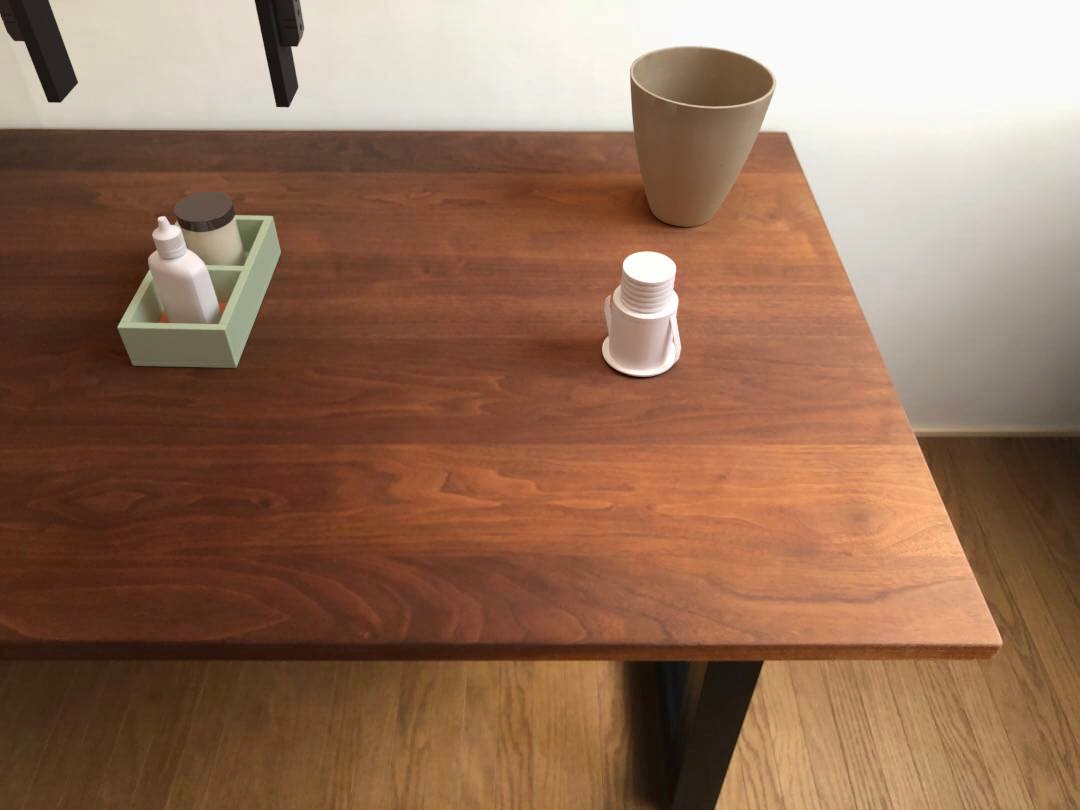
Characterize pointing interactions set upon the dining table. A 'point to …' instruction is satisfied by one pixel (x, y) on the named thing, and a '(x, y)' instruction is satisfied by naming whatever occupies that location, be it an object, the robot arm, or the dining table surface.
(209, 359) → the green divided tray
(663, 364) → the downlight
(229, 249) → the spice jar
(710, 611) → the dining table surface
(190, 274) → the eye dropper bottle
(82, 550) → the dining table surface
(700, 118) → the plant pot
